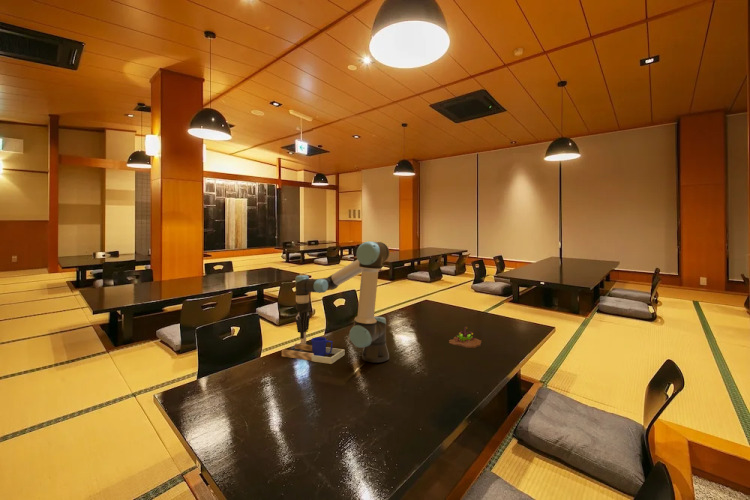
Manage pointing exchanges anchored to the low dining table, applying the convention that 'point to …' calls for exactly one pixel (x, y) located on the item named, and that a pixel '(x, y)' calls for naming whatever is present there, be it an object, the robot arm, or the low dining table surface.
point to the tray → (329, 360)
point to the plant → (465, 340)
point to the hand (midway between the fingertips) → (303, 343)
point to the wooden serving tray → (299, 354)
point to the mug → (320, 346)
